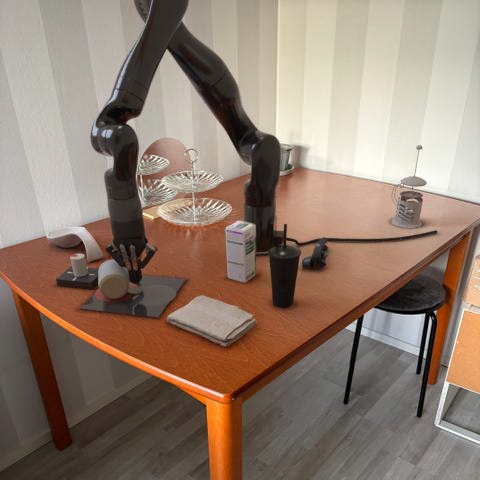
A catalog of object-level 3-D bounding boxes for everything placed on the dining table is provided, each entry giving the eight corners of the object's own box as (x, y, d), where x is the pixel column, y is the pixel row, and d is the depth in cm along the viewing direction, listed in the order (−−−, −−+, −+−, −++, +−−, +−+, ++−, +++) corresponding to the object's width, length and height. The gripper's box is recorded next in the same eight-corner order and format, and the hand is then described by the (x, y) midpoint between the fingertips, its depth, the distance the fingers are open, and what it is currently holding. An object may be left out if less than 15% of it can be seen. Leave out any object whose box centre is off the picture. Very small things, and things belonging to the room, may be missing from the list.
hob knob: (90, 271, 131) (86, 253, 128) (83, 277, 128) (80, 258, 125) (78, 270, 132) (74, 251, 129) (71, 276, 129) (67, 257, 126)
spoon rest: (42, 243, 153) (36, 221, 149) (76, 233, 160) (72, 212, 156) (78, 266, 138) (73, 243, 134) (115, 254, 145) (111, 231, 141)
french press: (411, 230, 158) (425, 150, 145) (380, 221, 166) (391, 144, 153) (427, 223, 164) (442, 145, 151) (397, 214, 171) (409, 139, 158)
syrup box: (245, 283, 128) (245, 230, 121) (226, 278, 131) (225, 226, 123) (256, 275, 132) (256, 223, 125) (238, 270, 135) (237, 219, 127)
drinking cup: (265, 296, 122) (266, 219, 111) (295, 294, 122) (299, 217, 112) (269, 312, 115) (270, 231, 105) (301, 310, 116) (306, 229, 105)
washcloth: (228, 350, 102) (227, 337, 101) (164, 324, 111) (163, 312, 110) (259, 325, 111) (260, 313, 109) (198, 303, 120) (197, 291, 118)
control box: (106, 275, 133) (105, 268, 132) (92, 289, 126) (90, 281, 125) (73, 272, 135) (71, 265, 134) (57, 285, 128) (55, 278, 127)
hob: (187, 280, 130) (187, 279, 130) (160, 318, 114) (160, 317, 113) (114, 273, 134) (114, 272, 134) (77, 309, 118) (77, 308, 118)
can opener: (324, 274, 132) (325, 255, 129) (298, 270, 134) (299, 251, 131) (336, 249, 146) (338, 231, 143) (313, 246, 148) (314, 228, 145)
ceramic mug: (100, 302, 120) (95, 274, 116) (100, 287, 126) (96, 260, 122) (144, 298, 122) (141, 270, 118) (142, 283, 128) (139, 256, 124)
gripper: (91, 218, 111) (105, 287, 120) (146, 221, 108) (156, 291, 117) (106, 208, 117) (118, 273, 126) (158, 210, 114) (167, 277, 123)
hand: (136, 282), depth 122 cm, fingers closed
